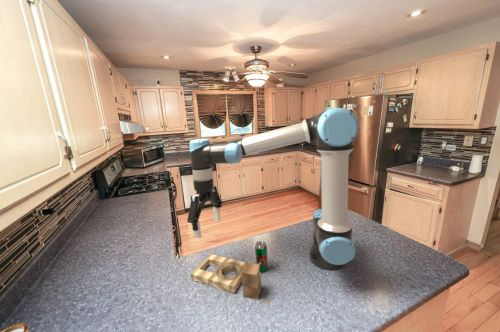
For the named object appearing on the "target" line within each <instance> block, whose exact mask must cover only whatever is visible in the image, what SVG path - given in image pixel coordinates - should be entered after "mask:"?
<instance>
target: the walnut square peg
mask: <svg viewBox="0 0 500 332" xmlns="http://www.w3.org/2000/svg"><path fill="white" fill-rule="evenodd" d="M241 284H242V296H243V297H242V298H247V299H252V300H253V299H254V300H259V297H260V293H261V290H262V281H261V272H260V264H256V263H251V262H250V263H249V262H246V263H245V266H244V268H243V271H242V283H241Z"/></svg>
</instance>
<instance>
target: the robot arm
mask: <svg viewBox="0 0 500 332" xmlns="http://www.w3.org/2000/svg"><path fill="white" fill-rule="evenodd" d="M359 129H360V124H359V120H358V118H357V116H356V115H355V114H354V113H353V112H352V111H351V110H349V109H347V108H342V107H333V108H330V109H328V110H325V111H323V112H320V113H319V114H316V115H314V116H311V117H308V118H304V119H303V120H302V122H299V123H295V124H292V125H288V126H284V127H279V128H276V129H273V130H269V131H265V132H262V133H258V134H253V135H250V136H246V137H242V138H238V139H234V140H231V141H228V142H224V143H214V144H213V143H210V140H209V139H208V138H200V139H191V140H190V141H189V155H190V161H191V169H192V178H193V189H194V191H195V192H196V194H195V195H190V205H189V211H188V215H187V223H189V224H191V226H192V231H193V235H194V236H193V237H194V238H197V239H202V231H201V222H200V221H199V219H200V216H201V213H202V210H203V207H204V206H205V204H206V203H207V202H210V203H211V205H212V206H213V208H212V210H213V211H212V212H213V220H214V221H213V222H215V223H221V212H220V211H221V210H220V208H222V204H223V201H222V199H221V196H220V193H219V192H218V188H217V186H215V185H214V178H213V176H214V174H213V166H212V165H216V164H217V165H219V164H220V165H222V164H226V165H227V164H231V165H233V164H240V162H242V159H243V158H242V157H246V156H249V155H253V154H258V153H261V152H265V151H271V150H274V149H278V148H283V147H287V146H291V145H295V144H300V143H303V142H307V143H308V144H311V143H314V142H316V152H318V153H319V154H320V158H321V162H320V164H321V165H320V166H321V173H320V174H321V208H318V209H315V210H313V214H312V243H311V246H310V248H309V250H308V258H309V261H310V262H311V263H312V264H313V265H314V266H316V267H318V268H319V269H323V270H328V271H336V270H340V269H342V268H343V267H344V266H345V265H346V264H348V263H349V262H351V261H352V260H353V259H354V258H355V256H356V254H357V251H356V250H357V249H356V245H355V243H354V242H353V225H352V223H351V221H349V220H348V210H349V209H348V207H349V205H348V204H349V203H348V202H349V201H348V200H349V155H350V154H351V153H352V152H353V151H354V149H355V148H354V147H355V145H354V144H355V138H356V137H357V136H358V133H359Z"/></svg>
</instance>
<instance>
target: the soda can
mask: <svg viewBox="0 0 500 332" xmlns="http://www.w3.org/2000/svg"><path fill="white" fill-rule="evenodd" d="M254 248H255V249H254V252H255V253H254V255H255V264H260V273H266V272H267V271H268V269H269V262H268V245H267V242H265V241H264V240H263V241H262V240H261V241H259V240H258V241H257V242H255V246H254Z"/></svg>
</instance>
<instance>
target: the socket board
mask: <svg viewBox="0 0 500 332" xmlns="http://www.w3.org/2000/svg"><path fill="white" fill-rule="evenodd" d="M245 263H247V262H245V261H241V260H238V259H234V258H230V257H225V256H220V255H216V254H212V253H210V254H209V255H208V256H206V258H205V259H204V260H203V261H202V262H201V263H200V264H199V265H198V266H197V267H196V268H194V270H193V271H192V272H191V273H190V279H192V280H191V281H193V280H195V281H194V282H196V281H198V282H197V283H199V282H201V283H200V284H202V283H205V284H207V285H206V286H208V285H211V286H210V287H212V286H213V287H212V288H215V287H216V288H215V289H218V288H219V290H221V289H222V290H221V291H224V290H225V292H228V293H231V294H235V293H237V291H238V289H239V287H240V286H241V284H242V271H243V268H244V266H245ZM209 264H210V265H209ZM208 265H209V266H211V265H214V266H213V267H215V266H218V267H216V269H215V270H214V272H210V271H207V270H206V269H207V268H208V267H209V266H208ZM207 266H208V267H207ZM206 267H207V268H206ZM205 268H206V269H205ZM204 269H205V270H204ZM228 271H229V272H234V271H235V272H234V273H235V274H234V275H232V276H225V274H226V273H228ZM225 272H226V273H225ZM205 284H204V285H205Z"/></svg>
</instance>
